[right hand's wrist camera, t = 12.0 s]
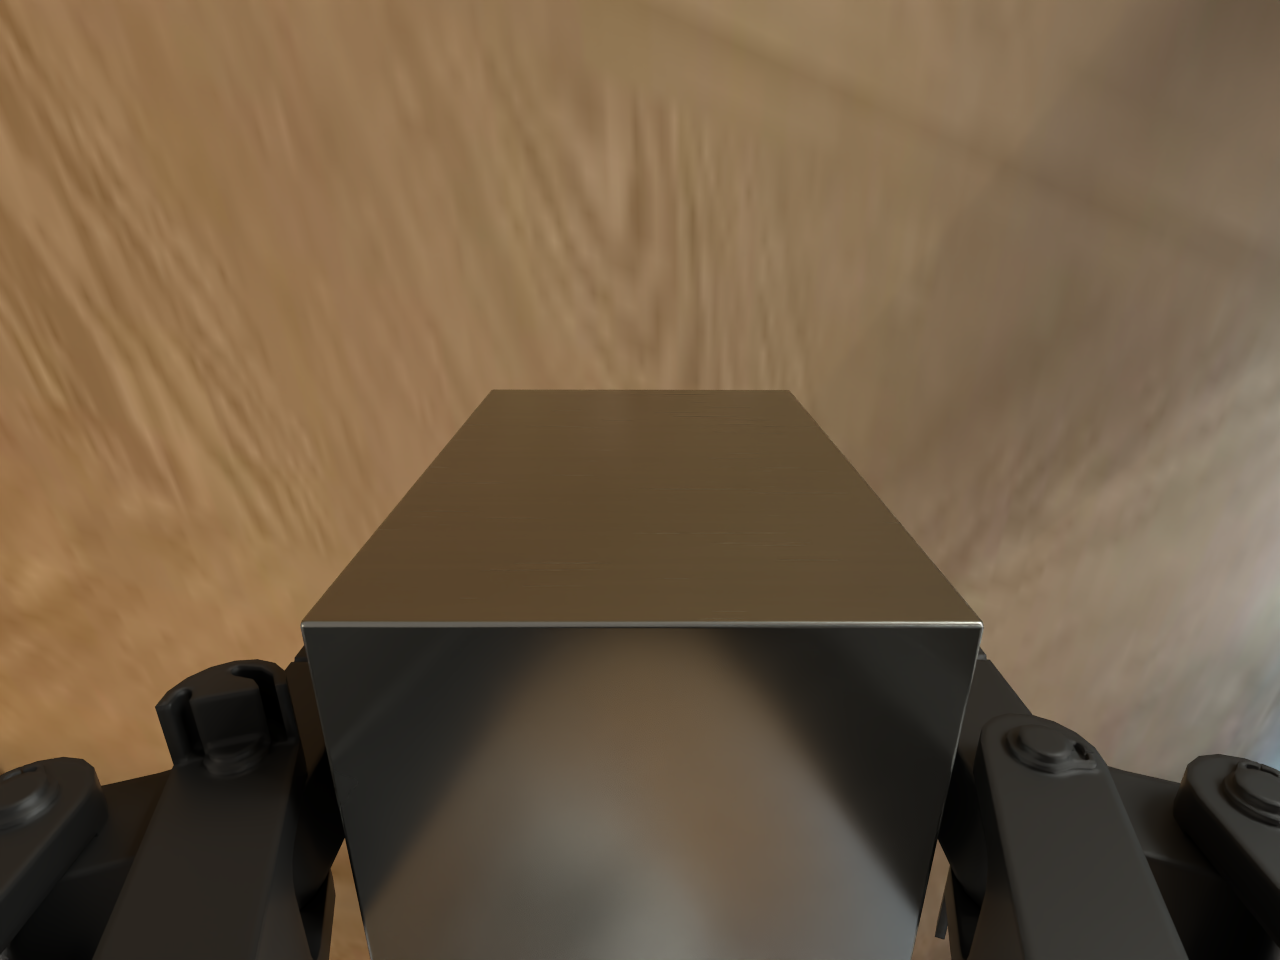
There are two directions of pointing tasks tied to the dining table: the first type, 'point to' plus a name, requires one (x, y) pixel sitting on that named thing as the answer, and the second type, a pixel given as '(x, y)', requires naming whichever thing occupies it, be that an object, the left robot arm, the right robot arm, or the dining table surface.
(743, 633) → the bar
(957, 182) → the dining table surface
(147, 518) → the dining table surface
